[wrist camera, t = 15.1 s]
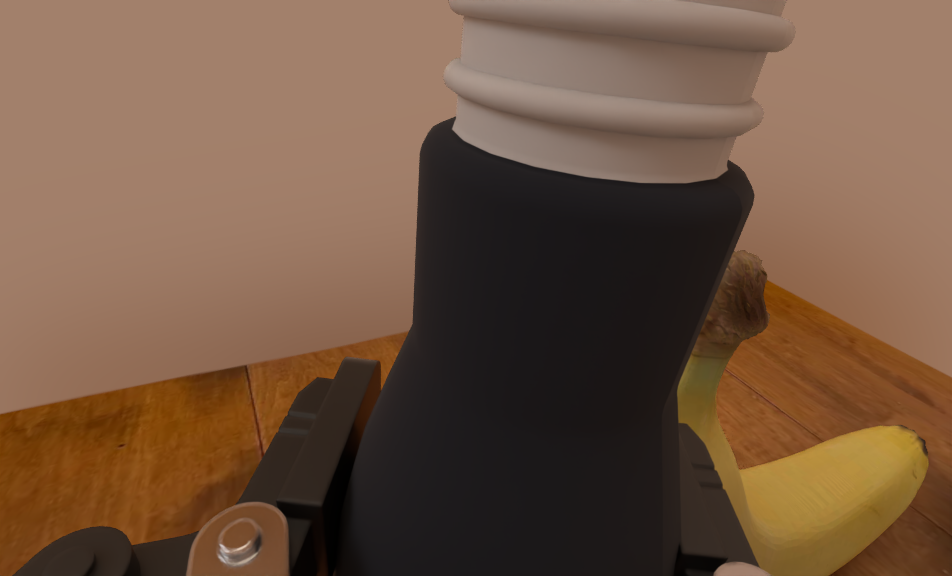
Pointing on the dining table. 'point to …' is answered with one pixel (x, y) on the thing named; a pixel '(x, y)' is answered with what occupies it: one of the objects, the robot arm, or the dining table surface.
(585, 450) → the insulated water bottle
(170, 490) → the dining table surface
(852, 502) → the banana
